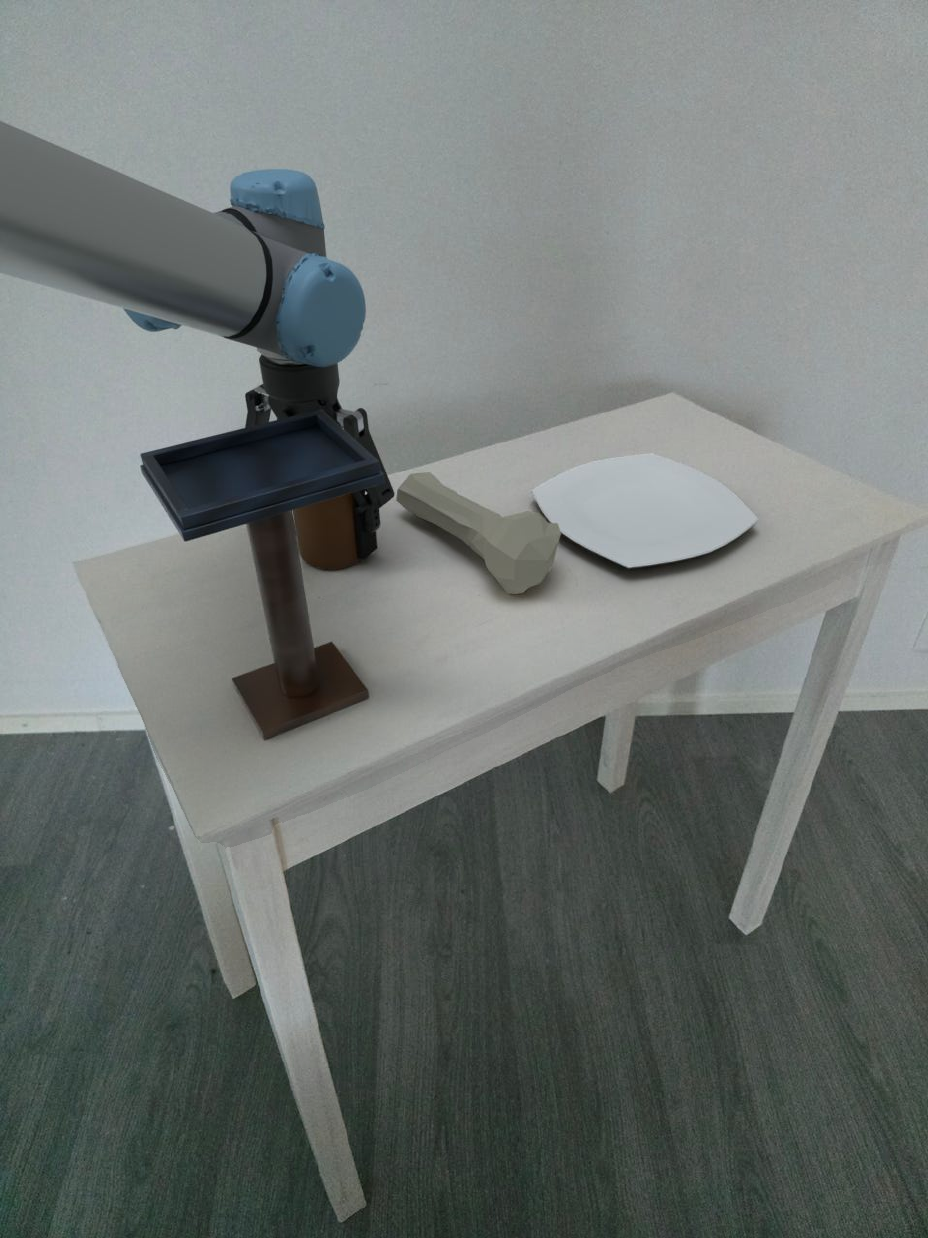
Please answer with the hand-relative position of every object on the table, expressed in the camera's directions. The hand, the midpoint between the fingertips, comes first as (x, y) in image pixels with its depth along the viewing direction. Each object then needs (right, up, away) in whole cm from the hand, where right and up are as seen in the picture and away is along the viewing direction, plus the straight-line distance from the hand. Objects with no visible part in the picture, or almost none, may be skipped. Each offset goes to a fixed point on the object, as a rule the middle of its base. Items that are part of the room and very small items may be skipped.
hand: (323, 538), depth 95 cm
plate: (+37, +3, +5) cm, 37 cm away
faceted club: (+17, -1, 0) cm, 17 cm away
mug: (0, -1, +1) cm, 1 cm away
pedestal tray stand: (+1, -16, -18) cm, 24 cm away
